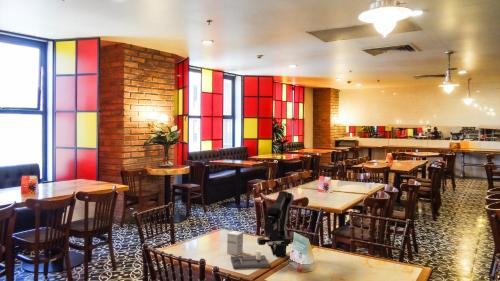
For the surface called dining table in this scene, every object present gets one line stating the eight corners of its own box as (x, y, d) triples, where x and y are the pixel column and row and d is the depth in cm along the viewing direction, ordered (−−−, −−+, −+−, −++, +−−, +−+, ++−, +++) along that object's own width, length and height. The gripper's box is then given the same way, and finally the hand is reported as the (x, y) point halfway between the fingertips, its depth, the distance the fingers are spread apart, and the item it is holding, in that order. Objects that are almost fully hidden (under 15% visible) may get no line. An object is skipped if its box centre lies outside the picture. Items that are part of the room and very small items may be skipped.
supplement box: (226, 253, 236) (226, 233, 235) (232, 250, 242) (233, 230, 242) (237, 255, 233) (237, 234, 232) (243, 252, 239) (243, 231, 238)
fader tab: (259, 257, 222) (259, 249, 222) (260, 259, 219) (260, 251, 219) (255, 257, 222) (256, 249, 222) (257, 260, 218) (257, 252, 218)
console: (264, 258, 228) (264, 255, 228) (269, 267, 214) (269, 263, 214) (230, 259, 225) (230, 256, 225) (233, 268, 211) (233, 265, 211)
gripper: (286, 224, 231) (286, 250, 231) (255, 225, 228) (255, 251, 228) (291, 229, 220) (290, 256, 220) (259, 230, 217) (258, 258, 217)
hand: (273, 255), depth 222 cm, fingers closed
